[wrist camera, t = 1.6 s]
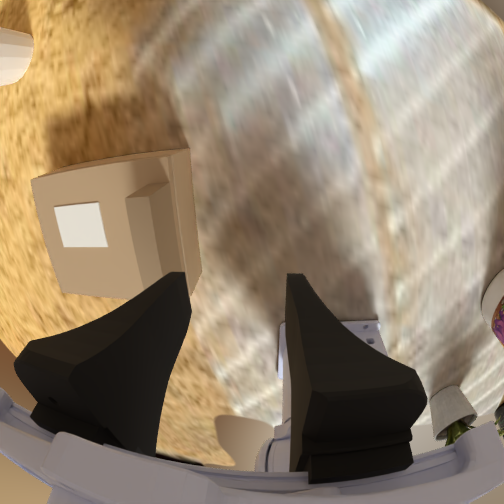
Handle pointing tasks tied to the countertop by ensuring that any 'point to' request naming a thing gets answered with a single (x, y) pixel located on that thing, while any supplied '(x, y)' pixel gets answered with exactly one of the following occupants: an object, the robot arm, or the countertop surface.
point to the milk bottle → (495, 306)
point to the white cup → (14, 55)
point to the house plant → (452, 415)
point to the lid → (110, 226)
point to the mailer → (183, 204)
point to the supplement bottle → (503, 421)
